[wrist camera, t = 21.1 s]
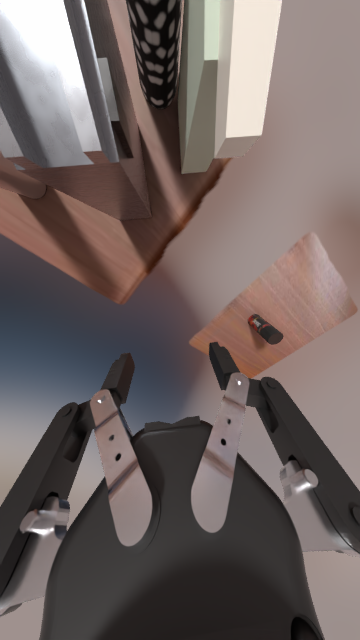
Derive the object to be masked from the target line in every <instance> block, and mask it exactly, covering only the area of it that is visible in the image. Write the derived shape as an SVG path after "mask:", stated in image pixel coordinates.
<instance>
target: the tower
mask: <svg viewBox="0 0 360 640" xmlns="http://www.w3.org/2000/svg"><path fill="white" fill-rule="evenodd" d="M0 151H1V152H2V154H3V156H4V158H6V159H8V160H10V161H11V162H13V163H14V165H15V167H16V169H17V170H18V171H20V172H22V173H24V174H26V175H28V176H30V177H32V178H34V179H36V180H38V181H40V182H42V183H44V184H46V185H48V186H50V187H52V188H55V189H57V190H59V191H61V192H63V193H65V194H67V195H69V196H71V197H73V198H75V199H77V200H79V201H81V202H83V203H85V204H87V205H89V206H91V207H93V208H95V209H97V210H99V211H102V212H104V213H106V214H108V215H110V216H112V217H114V218H116V219H118V220H120V221H121V220H132V219H143V218H152V214H151V207H150V201H149V194H148V188H147V181H146V175H145V168H144V162H143V155H142V149H141V142H140V136H139V129H138V123H137V119H136V115H135V111H134V107H133V103H132V99H131V95H130V91H129V87H128V83H127V79H126V75H125V71H124V67H123V63H122V59H121V55H120V51H119V47H118V43H117V39H116V35H115V31H114V27H113V23H112V19H111V15H110V11H109V7H108V2H107V0H0Z"/></svg>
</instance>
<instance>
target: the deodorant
mask: <svg viewBox="0 0 360 640" xmlns="http://www.w3.org/2000/svg"><path fill="white" fill-rule="evenodd" d="M248 323H249V324H250V325H251V326H252V327H253V328H254V329H255V330H256V331H257V332H258V333H259V334H260V335H261V336H262V337H263V338H264V339H265V340H266V341H267V342H268V343H269V344H271V345H273V344H277V343H279V342H280V341H281V340H282V339H283V334H282V333H281V332H279V331H278V330H277V329H275V328H274V327H273V326H272V325H270V324H269V323H268V322H267V321H265V320H264V319H263V318H261V317H260V316H259V315H257V314H255V315H252V316H250V317H249V319H248Z"/></svg>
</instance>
